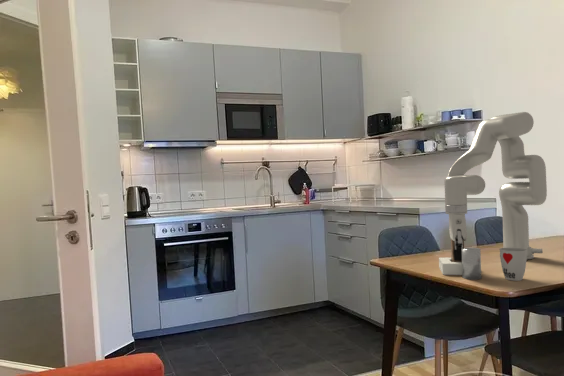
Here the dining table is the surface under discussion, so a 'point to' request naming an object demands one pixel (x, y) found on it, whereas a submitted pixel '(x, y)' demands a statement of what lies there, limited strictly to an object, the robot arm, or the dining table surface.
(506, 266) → the cup
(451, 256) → the walnut peg
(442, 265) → the bore block
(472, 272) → the grey cylinder
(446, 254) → the dining table surface
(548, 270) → the dining table surface
